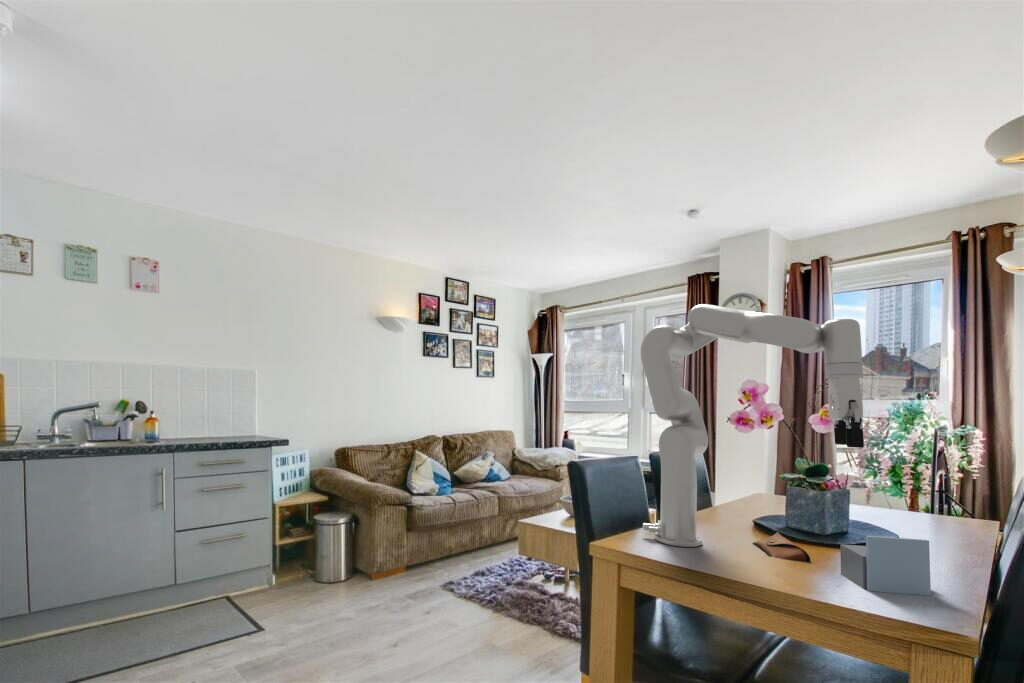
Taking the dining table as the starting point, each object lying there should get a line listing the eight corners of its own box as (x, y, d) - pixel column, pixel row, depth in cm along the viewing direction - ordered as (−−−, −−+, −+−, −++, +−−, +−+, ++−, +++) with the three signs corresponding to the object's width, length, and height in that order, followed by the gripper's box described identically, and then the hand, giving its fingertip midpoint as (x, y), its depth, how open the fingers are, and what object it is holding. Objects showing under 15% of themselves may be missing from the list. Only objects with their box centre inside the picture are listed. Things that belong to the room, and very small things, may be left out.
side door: (869, 590, 110) (868, 536, 111) (866, 589, 110) (865, 535, 111) (930, 595, 108) (929, 540, 109) (928, 594, 109) (926, 539, 110)
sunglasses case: (749, 542, 147) (761, 521, 147) (771, 557, 146) (784, 536, 146) (775, 562, 129) (789, 539, 129) (801, 579, 128) (815, 556, 128)
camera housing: (863, 592, 111) (862, 556, 111) (840, 577, 120) (840, 544, 120) (937, 598, 109) (936, 561, 110) (909, 582, 118) (908, 549, 119)
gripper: (817, 374, 133) (821, 443, 131) (835, 369, 116) (840, 448, 114) (851, 374, 130) (856, 444, 128) (875, 369, 114) (881, 449, 112)
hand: (848, 445), depth 121 cm, fingers open, 9 cm apart
